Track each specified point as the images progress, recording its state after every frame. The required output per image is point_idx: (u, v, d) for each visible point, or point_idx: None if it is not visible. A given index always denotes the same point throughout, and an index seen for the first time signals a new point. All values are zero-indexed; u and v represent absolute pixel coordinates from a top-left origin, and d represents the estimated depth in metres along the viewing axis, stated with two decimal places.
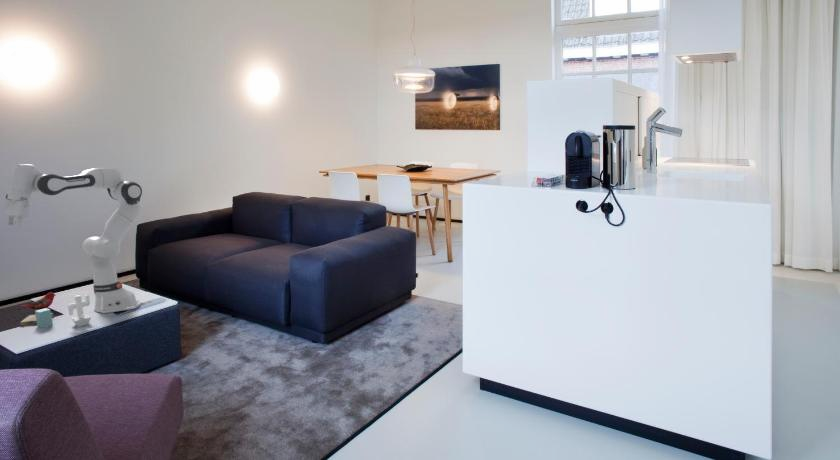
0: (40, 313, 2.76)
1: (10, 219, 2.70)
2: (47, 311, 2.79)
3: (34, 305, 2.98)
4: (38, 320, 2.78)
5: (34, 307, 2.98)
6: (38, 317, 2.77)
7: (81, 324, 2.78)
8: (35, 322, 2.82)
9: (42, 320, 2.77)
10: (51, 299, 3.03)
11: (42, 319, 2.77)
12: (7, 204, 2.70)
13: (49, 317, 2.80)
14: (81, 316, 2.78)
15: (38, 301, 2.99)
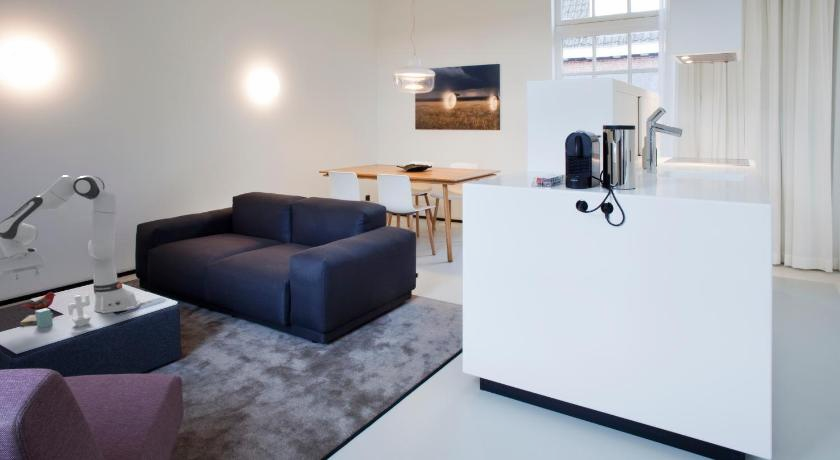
0: (40, 313, 2.76)
1: (37, 270, 2.89)
2: (47, 311, 2.79)
3: (34, 305, 2.98)
4: (38, 320, 2.78)
5: (34, 307, 2.98)
6: (38, 317, 2.77)
7: (81, 324, 2.78)
8: (35, 322, 2.82)
9: (42, 320, 2.77)
10: (51, 299, 3.03)
11: (42, 319, 2.77)
12: None
13: (49, 317, 2.80)
14: (81, 316, 2.78)
15: (38, 301, 2.99)
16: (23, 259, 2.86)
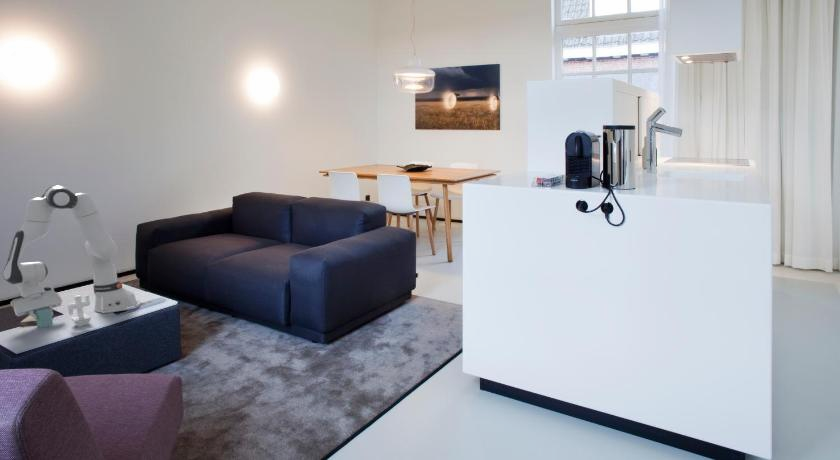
0: (40, 313, 2.76)
1: None
2: (47, 311, 2.79)
3: None
4: (38, 320, 2.78)
5: None
6: None
7: (81, 324, 2.78)
8: (35, 322, 2.82)
9: (42, 320, 2.77)
10: None
11: (42, 319, 2.77)
12: None
13: (49, 317, 2.80)
14: (81, 316, 2.78)
15: None
16: (40, 299, 2.82)
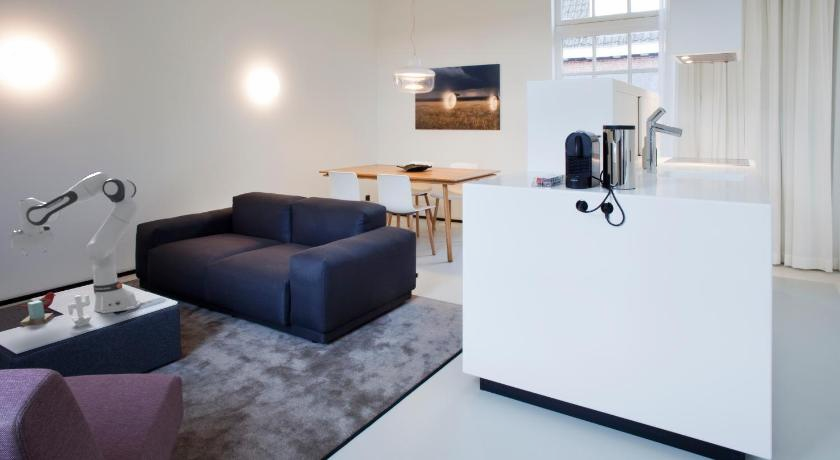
0: (32, 305, 2.83)
1: (45, 247, 3.03)
2: (39, 303, 2.85)
3: None
4: (30, 312, 2.85)
5: None
6: (30, 309, 2.84)
7: (81, 324, 2.78)
8: (35, 322, 2.82)
9: (34, 312, 2.84)
10: (51, 299, 3.03)
11: (34, 311, 2.84)
12: None
13: (41, 309, 2.86)
14: (81, 316, 2.78)
15: None
16: (36, 236, 2.98)
